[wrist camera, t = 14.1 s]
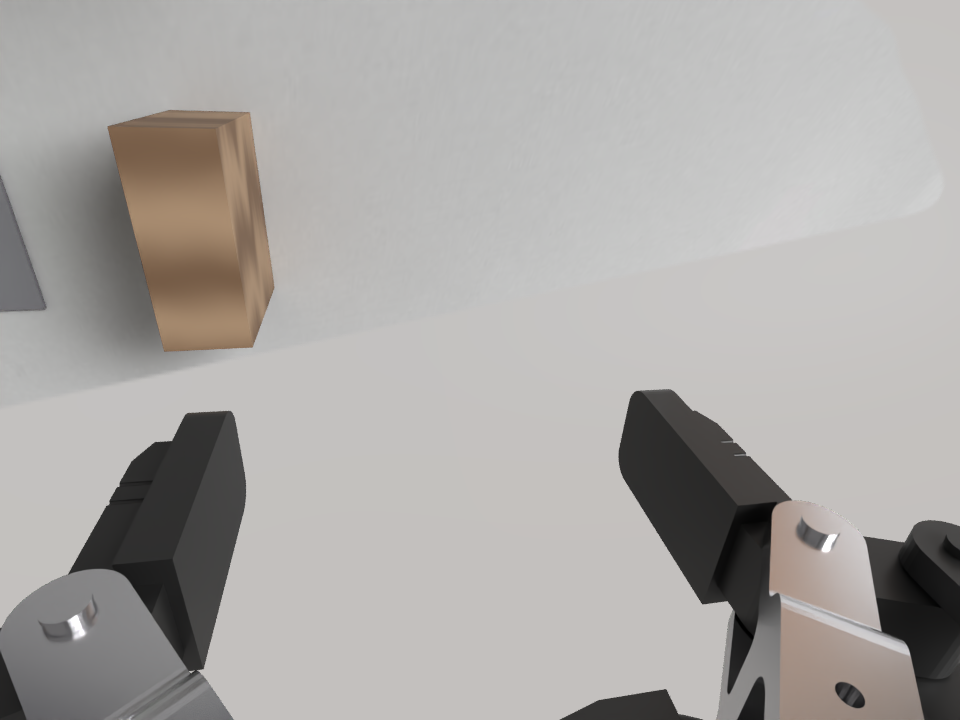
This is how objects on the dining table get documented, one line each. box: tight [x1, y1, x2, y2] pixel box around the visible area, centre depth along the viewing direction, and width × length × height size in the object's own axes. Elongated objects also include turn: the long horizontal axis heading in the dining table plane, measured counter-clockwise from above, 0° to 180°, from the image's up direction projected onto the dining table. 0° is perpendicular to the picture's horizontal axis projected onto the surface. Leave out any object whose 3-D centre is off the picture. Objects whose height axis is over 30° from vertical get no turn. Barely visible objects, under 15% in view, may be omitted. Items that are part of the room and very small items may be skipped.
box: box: [108, 110, 274, 352], centre depth 34 cm, size 12×5×10 cm, turn 178°
